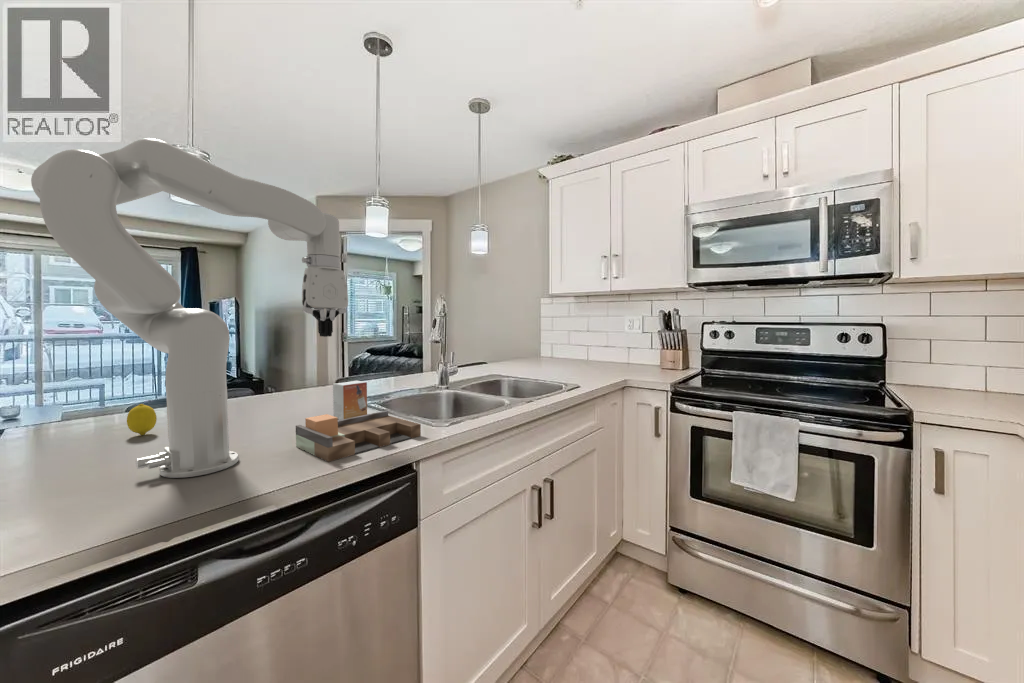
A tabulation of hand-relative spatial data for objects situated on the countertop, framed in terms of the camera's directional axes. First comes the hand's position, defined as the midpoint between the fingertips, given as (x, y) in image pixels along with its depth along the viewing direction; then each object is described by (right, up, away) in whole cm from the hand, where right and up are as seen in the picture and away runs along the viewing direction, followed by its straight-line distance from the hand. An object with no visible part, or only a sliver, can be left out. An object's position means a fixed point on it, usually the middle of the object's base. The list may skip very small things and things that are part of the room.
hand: (325, 336), depth 104 cm
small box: (0, -24, +17) cm, 30 cm away
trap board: (+11, -26, -6) cm, 29 cm away
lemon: (-45, -25, -2) cm, 52 cm away
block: (+4, -23, -11) cm, 26 cm away
